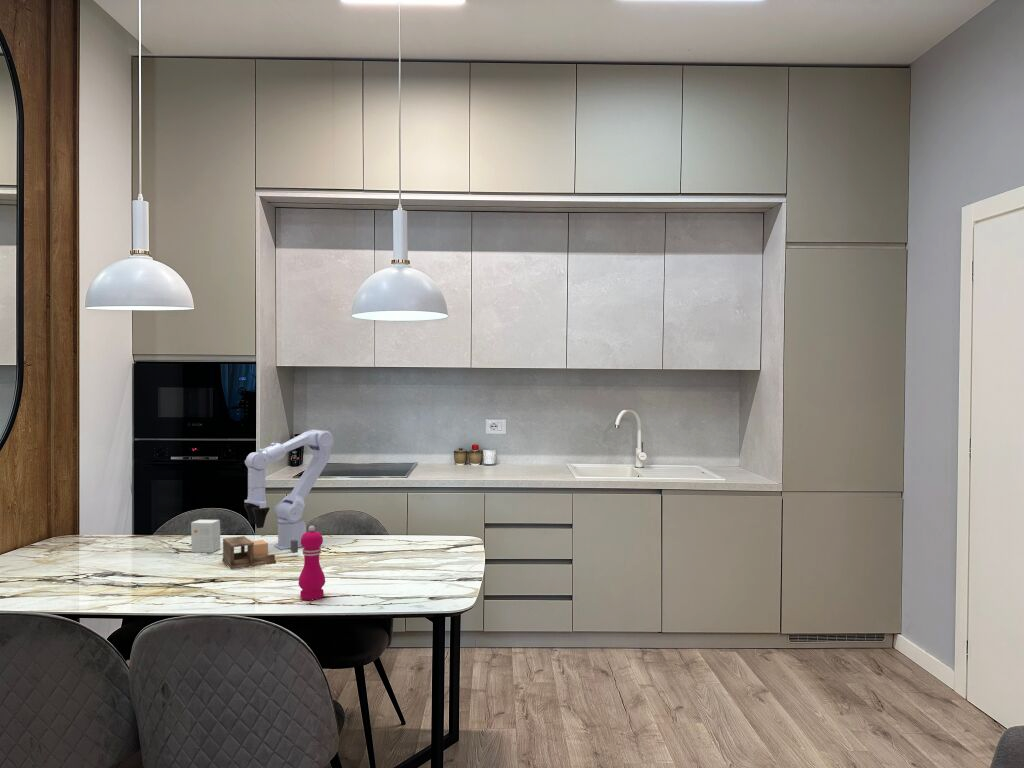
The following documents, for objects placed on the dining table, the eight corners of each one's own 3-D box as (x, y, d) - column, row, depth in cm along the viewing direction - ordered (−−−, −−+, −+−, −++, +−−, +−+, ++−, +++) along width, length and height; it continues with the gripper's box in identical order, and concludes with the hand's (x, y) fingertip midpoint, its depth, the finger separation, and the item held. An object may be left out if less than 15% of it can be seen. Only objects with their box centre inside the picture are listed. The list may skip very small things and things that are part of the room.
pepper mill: (301, 593, 213) (301, 523, 213) (327, 593, 213) (327, 522, 213) (296, 601, 206) (295, 528, 205) (323, 600, 206) (322, 528, 206)
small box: (220, 549, 266) (220, 519, 266) (213, 553, 261) (212, 522, 261) (199, 548, 267) (199, 519, 267) (191, 552, 261) (190, 522, 261)
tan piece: (293, 550, 259) (293, 536, 259) (299, 553, 254) (299, 539, 254) (247, 556, 250) (247, 541, 250) (252, 560, 245) (252, 545, 245)
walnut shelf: (265, 555, 257) (264, 533, 257) (275, 563, 247) (275, 540, 247) (222, 561, 249) (222, 538, 249) (231, 569, 239) (231, 545, 239)
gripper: (238, 485, 265) (238, 523, 265) (251, 490, 253) (251, 530, 253) (258, 483, 269) (258, 521, 269) (272, 488, 257) (272, 528, 258)
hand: (256, 526), depth 262 cm, fingers open, 7 cm apart
